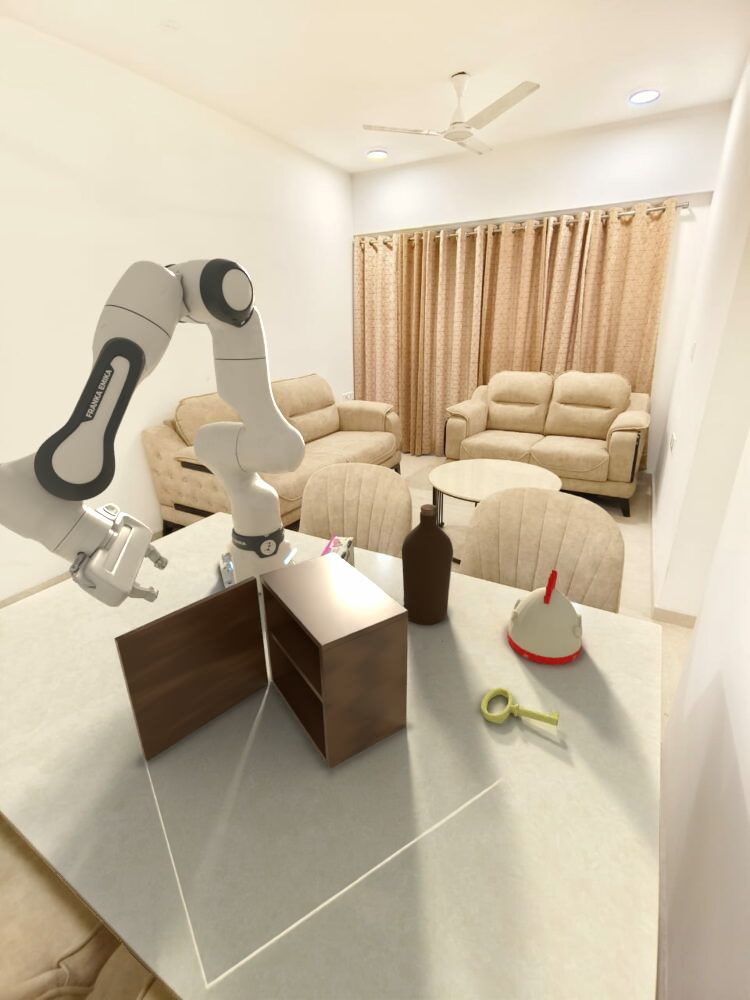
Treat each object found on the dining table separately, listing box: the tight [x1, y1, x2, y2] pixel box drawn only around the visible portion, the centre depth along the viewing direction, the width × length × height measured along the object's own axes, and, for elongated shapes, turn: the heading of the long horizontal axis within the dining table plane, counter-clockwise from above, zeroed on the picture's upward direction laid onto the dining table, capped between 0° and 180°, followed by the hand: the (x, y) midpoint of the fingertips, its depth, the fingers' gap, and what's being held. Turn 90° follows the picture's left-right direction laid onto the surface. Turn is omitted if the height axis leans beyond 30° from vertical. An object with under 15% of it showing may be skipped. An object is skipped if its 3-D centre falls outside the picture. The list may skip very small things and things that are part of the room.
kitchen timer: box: [506, 569, 583, 666], centre depth 97 cm, size 14×14×15 cm
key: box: [480, 687, 560, 727], centre depth 83 cm, size 7×12×2 cm, turn 78°
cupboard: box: [259, 552, 409, 770], centre depth 81 cm, size 14×22×22 cm, turn 33°
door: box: [114, 576, 269, 762], centre depth 80 cm, size 7×22×22 cm, turn 137°
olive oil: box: [401, 503, 454, 626], centre depth 105 cm, size 11×11×25 cm
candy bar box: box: [320, 535, 356, 569], centre depth 106 cm, size 11×5×16 cm, turn 168°
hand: (161, 580), depth 88 cm, fingers open, 8 cm apart
